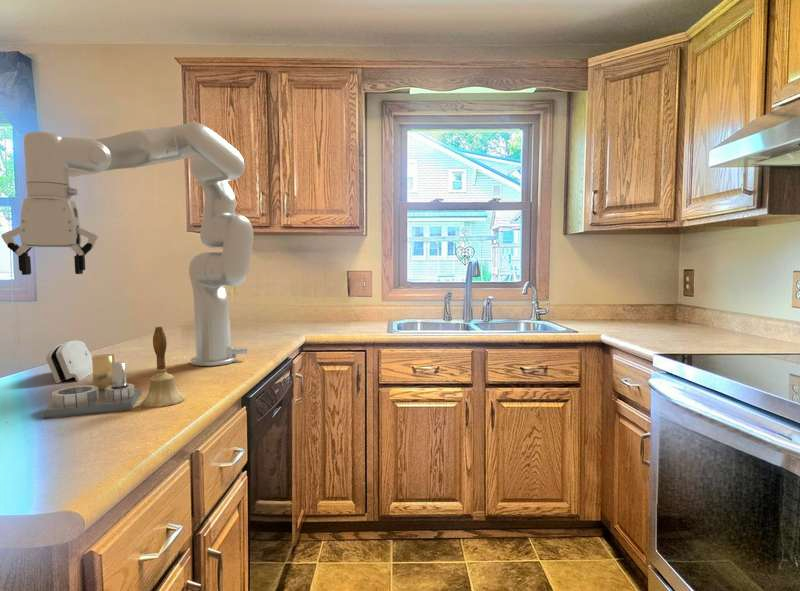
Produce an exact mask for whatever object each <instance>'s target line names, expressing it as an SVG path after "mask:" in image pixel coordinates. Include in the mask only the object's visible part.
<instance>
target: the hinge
mask: <svg viewBox="0 0 800 591" xmlns="http://www.w3.org/2000/svg"><path fill="white" fill-rule="evenodd" d="M92 356H93V355H92V354H91V352H90V351H89V349H88V347H87V345H86V343H85V342H84V341H82V340H69V341H65V342H64V343H61V344H58V345H56V346H55V347H54V348H51V349H50V351H48V354H47V355H46V357H45V358H46V362H47V364H48V366H49V369H50V371H51V374H52V377H53V379H54V381H55V383H56V384H57V383H58V384H59V383H61V382H63V381H67V380H69V379H72V378H74V379H75V381H76V382H77V381H78V382H81V381H82V380H83V378H84V379H85V378H87V377H89V376H90V375H92V374H93V368H92ZM91 373H92V374H91ZM88 375H89V376H88ZM86 376H87V377H86ZM81 379H82V380H81Z"/></svg>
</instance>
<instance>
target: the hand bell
mask: <svg viewBox="0 0 800 591" xmlns="http://www.w3.org/2000/svg"><path fill="white" fill-rule="evenodd" d="M153 332H154V333H153V335H152V336H153V337H152V345H153V346H152V347H153V350H154V353H155V355H156V356H155V357H156V369H157V370H156V372H157V373H156V374H155V375H153V376H152V377H151V378H150V383H149V389H148V392H147V395H146V397H145V398H144V399H143V400H142V402H141V406H142V407H145V406H147V407H146V408H163V407H169V406H174V405H177V404H180V403H182V402H184V401H185V399H186V398H185V395H183V394H182V393H181V392H180V390H178V388H177V385H176V383H175V376H174V375H173V374H171V373H168V372H167V367H166V352H167V344H168V343H167V336H166V333H165V331H164V329H163V326H155V329H154V331H153Z"/></svg>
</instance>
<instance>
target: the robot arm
mask: <svg viewBox="0 0 800 591" xmlns="http://www.w3.org/2000/svg"><path fill="white" fill-rule="evenodd" d="M23 137H24V138H23V152H24V167H25V181H26V182H25V184H26V185H25V187H26V197H27V198H23V201H22V204H21V205H22V206H21V211H20V213H21V214H20V224H19V225H20V226H18V227H15V228H13V229H11V230H9V231H7V232H4V233H2V234H1V238H2V240H3V242H4V243H5V244H6V245H7V248H8V249H10V251H12V252H13V253H14V254H15V255H16V256H17V258H18V270H19V271H20V272H21V275H22V276H28V275H29V276H30V275H31V274H32V265H31V264H32V262H31V256H30V255H29V252H31V251H32V250H33V248H34V247H37V248H39V247H40V248H70V249H72V250H73V252H74V253H76V254H75V255H74V256H73V258H74V273H75V274H76V275H83V274H84V271H86V257H85V256H86V255H87V254H88V253H89V252H90V251H91V250H93V248H94V246H95V245H96V243H97V241H98V239H99V236H98V235H97V234H95V233H93V232H91V231H88V230H86V229H84V228H82V227H81V226H80V218H79V212H78V208H77V205H76V201H75V200H71V199H72V197H73V196H78V195H79V194H78V189H77V188H73V187H71V186H70V178H74V177H80V176H81V177H82V176H88V175H95V174H99V173H100V174H101V173H102V172H106V171H113V170H122V169H123V170H124V169H136V168H142V167H149V166H153V165H159V164H164V163H169V162H175V161H180V160H181V161H182V160H185V159H190V158H191V161H190V170H191V173H192V175H193V178H194V179H196V181H197V182H198V183H199V186H200V187H201V188H202V190H203V193H204V207H203V208H204V209H203V214H202V218H201V219H202V221H201V227H200V234H199V235H200V236H199V238H200V241H201V243H202V244H203V245H204V246H205V247H207V248H210V249H217V250H219V249H222V252H221V251H220V252H219V251H215V252H214V251H213V252H212V251H211V252H208V251H207V252H202V253H199V254H196V255H195V256H193V258H191V261H190V262H189V266H188V274H189V278H190V279H189V280H190V283H191V287H192V293H193V294H192V295H193V312H194V313H193V314H194V316H193V317H194V337H195V338H194V339H195V356H194V357H191V358H190V364H191V365H192V366H200V367H204V366H205V367H209V366H210V367H211V366H221V365H228V364H231V363H234V362H236V361H237V360H238V359H237V358H238V356H237V355H247V354H248V347H246V346H245V347H243V346H240V347H235V346H233V343H231V341H232V340H231V318H230V316H231V315H230V314H231V313H230V297H229V295H228V294H229V293H228V292H227V289H226V287H236V286H240V285H242V284H243V283H244V282H245V281H246V279H247V277H248V274H249V271H250V264H251V258H252V253H253V246H254V239H255V238H254V230H253V225H252V224H251V222H250V220H249V219H248V218H247V217H245V216H243V215H242V214H241V215H240V214H236V209H237V208H236V207H237V206H236V205H237V199H236V196H235V193H234V190H233V189H232V188H231V186H230V184H229V181H230V182H231V181H235V180H238V179H239V178H241V177H242V176H243V174H244V173H245V169H246V165H245V164H246V163H245V161H244V160H245V159H244V157H243V156H242V155H241V153H240V151H238V150H237V149H236V148H235V147H234V146H232V145H231V144H230V143H228V142H227V141H226V140H225V139H224V138H222V137H221V136H220V135H219V134H218V133H216V132H214V131H213V130H212V129H211V128H209V127H207V126H206V125H204V124H202V123H200V122H193V121H192V122H189V123H183V124H177V125H172V126H166V127H165V126H164V127H163V126H162V127H156V128H148V129H140V130H139V129H138V130H133V131H132V130H131V131H126V132H122V133H118V134H116V135H111V136H107V137H102V138H96V139H93V138H88V137H87V138H84V137H83V138H82V137H70V136H61V135H60V134H56V133H53V132H47V131H45V132H44V131H30V132H27V133H26V134H25V135H24V136H23ZM19 235H20V242H21V245H20V246H19V244H17V243H16V241H15V240H14V238H17V236H19ZM82 236H83V237H85V238H87V239H88V240H87V242H86V243H85V244H84V245H83V246H82V245H81V244H82Z"/></svg>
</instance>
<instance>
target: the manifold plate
mask: <svg viewBox="0 0 800 591" xmlns="http://www.w3.org/2000/svg"><path fill="white" fill-rule="evenodd" d="M114 362H115V361H114ZM126 364H127V363H126V362H125V361H117V362H115V363H112V364H111V370H112V386H108V387H106V388H105V391H99V390H98V387H97V386H94V385H91V384H90V385H86V384H84V385H76V386H74V385H73V386H68V387H64V388H60V389H56V390H54V391H53V392H51V403H50V404H49V405H48V406H46V407H45V408H43V410H42V418H43V419H49V418H59V417H60V418H62V417H71V416H83V415H95V414H104V413H103V412H105V413H115V412H124V411H123V410H126V411H132V410H133V408H134V407H135V405H136V404H137V402H136V401H138V400H139V399H140V397H141V395H142V388H141V387H136V388H135V385H134V384H133V383H127V368H126V366H127V365H126ZM139 396H140V397H139ZM138 398H139V399H138ZM133 406H134V407H133ZM131 409H132V410H131Z"/></svg>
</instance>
